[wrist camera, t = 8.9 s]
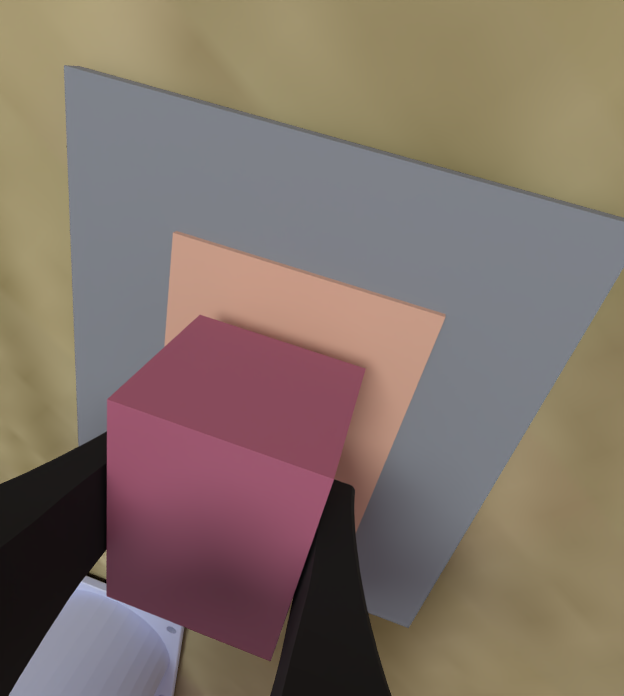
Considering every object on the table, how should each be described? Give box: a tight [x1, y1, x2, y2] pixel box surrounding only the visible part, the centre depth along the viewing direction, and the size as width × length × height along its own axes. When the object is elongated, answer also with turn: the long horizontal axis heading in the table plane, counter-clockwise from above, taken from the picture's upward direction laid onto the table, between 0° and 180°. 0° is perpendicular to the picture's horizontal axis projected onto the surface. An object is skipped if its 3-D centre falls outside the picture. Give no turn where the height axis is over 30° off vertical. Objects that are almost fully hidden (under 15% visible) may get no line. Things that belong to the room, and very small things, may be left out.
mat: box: [64, 65, 624, 628], centre depth 15 cm, size 16×14×1 cm
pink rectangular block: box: [106, 315, 366, 661], centre depth 12 cm, size 4×6×4 cm
